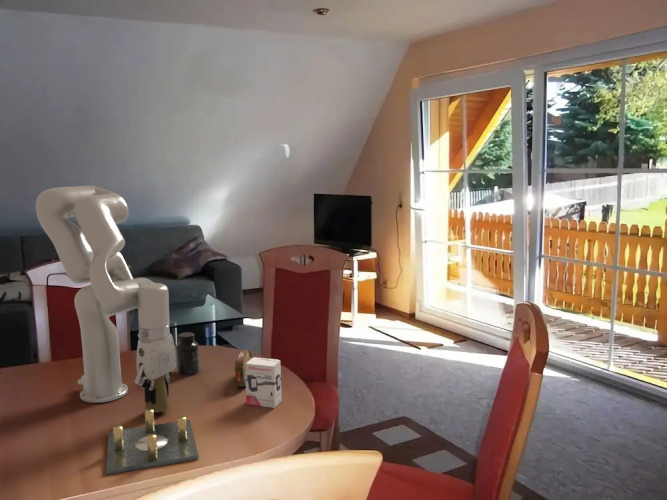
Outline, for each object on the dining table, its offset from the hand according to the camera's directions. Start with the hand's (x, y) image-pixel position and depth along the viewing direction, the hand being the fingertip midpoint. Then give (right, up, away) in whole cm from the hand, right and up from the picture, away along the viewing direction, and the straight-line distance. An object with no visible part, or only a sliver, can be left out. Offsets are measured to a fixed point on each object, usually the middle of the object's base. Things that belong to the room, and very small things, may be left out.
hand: (157, 398), depth 157 cm
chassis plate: (+4, -7, -18) cm, 20 cm away
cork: (0, -3, 0) cm, 2 cm away
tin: (+19, 0, +22) cm, 29 cm away
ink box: (+27, -3, +6) cm, 28 cm away
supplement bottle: (+1, +1, +30) cm, 30 cm away
